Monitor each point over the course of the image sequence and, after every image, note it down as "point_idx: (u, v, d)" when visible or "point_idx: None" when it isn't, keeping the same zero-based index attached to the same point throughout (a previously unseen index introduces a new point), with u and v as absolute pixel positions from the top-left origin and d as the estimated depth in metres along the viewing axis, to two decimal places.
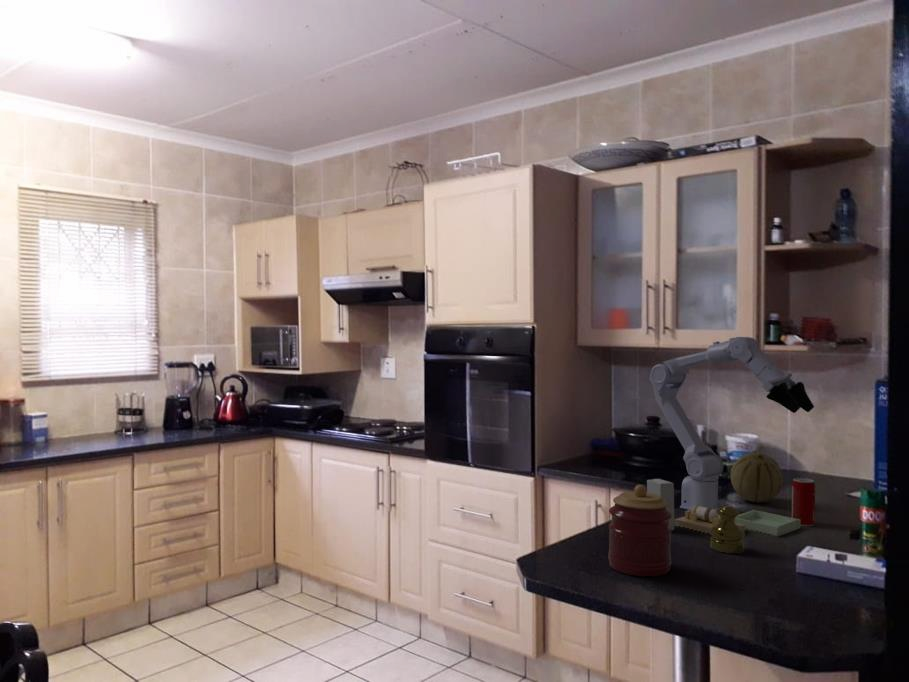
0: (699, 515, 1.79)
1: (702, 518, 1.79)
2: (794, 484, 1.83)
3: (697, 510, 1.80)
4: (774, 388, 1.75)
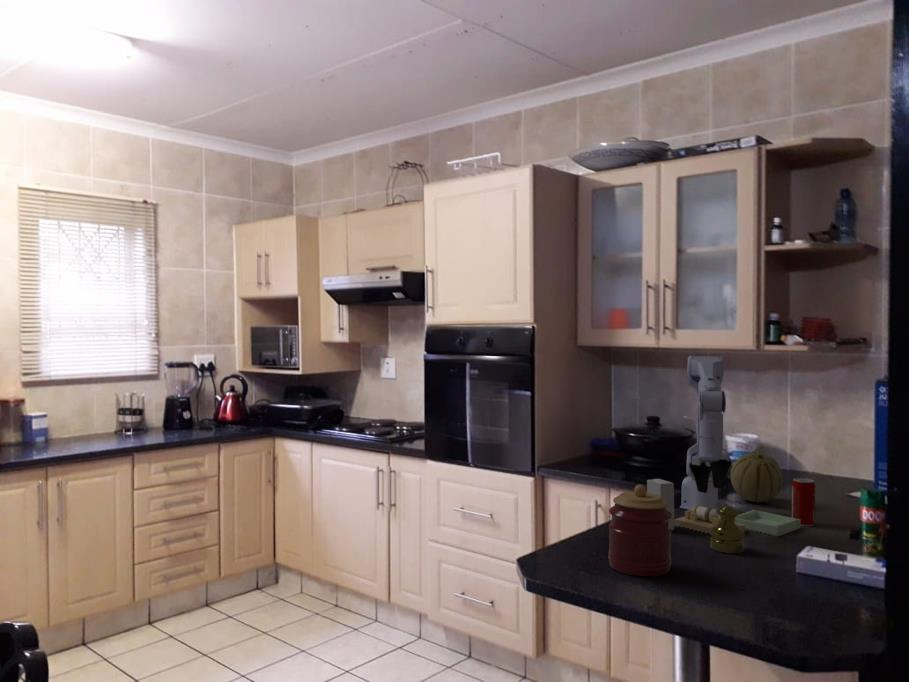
0: (699, 515, 1.79)
1: (702, 518, 1.79)
2: (794, 484, 1.83)
3: (697, 510, 1.80)
4: (699, 466, 1.74)
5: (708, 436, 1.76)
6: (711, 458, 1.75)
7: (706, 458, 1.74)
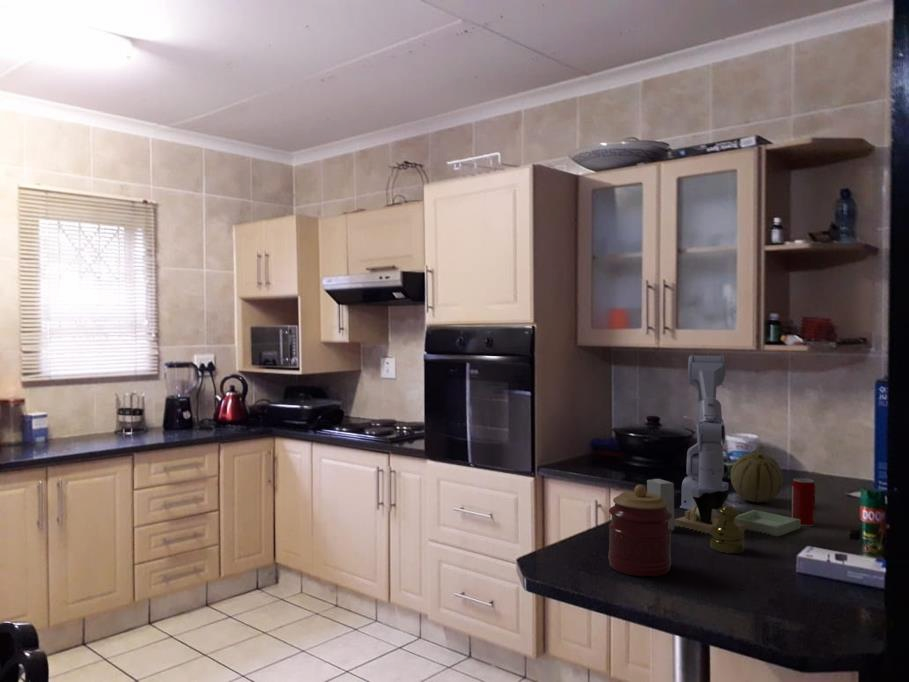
0: (699, 516, 1.79)
1: None
2: (794, 484, 1.83)
3: (697, 510, 1.80)
4: (703, 497, 1.75)
5: (707, 468, 1.76)
6: (710, 490, 1.75)
7: (705, 490, 1.74)
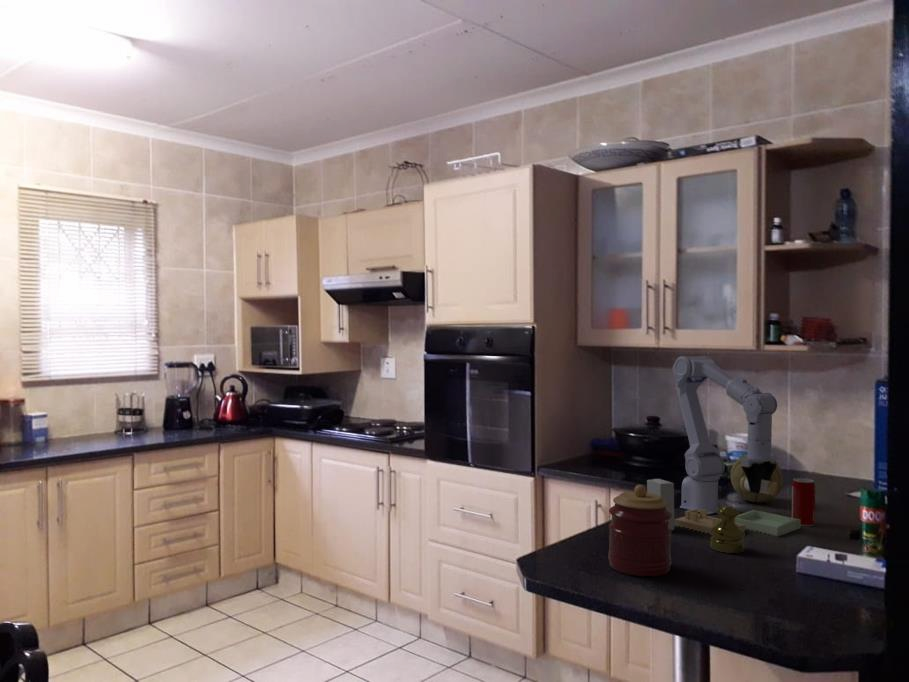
0: (748, 486, 1.81)
1: None
2: (794, 484, 1.83)
3: (746, 481, 1.81)
4: (752, 467, 1.77)
5: (765, 438, 1.77)
6: (760, 460, 1.77)
7: (755, 460, 1.76)
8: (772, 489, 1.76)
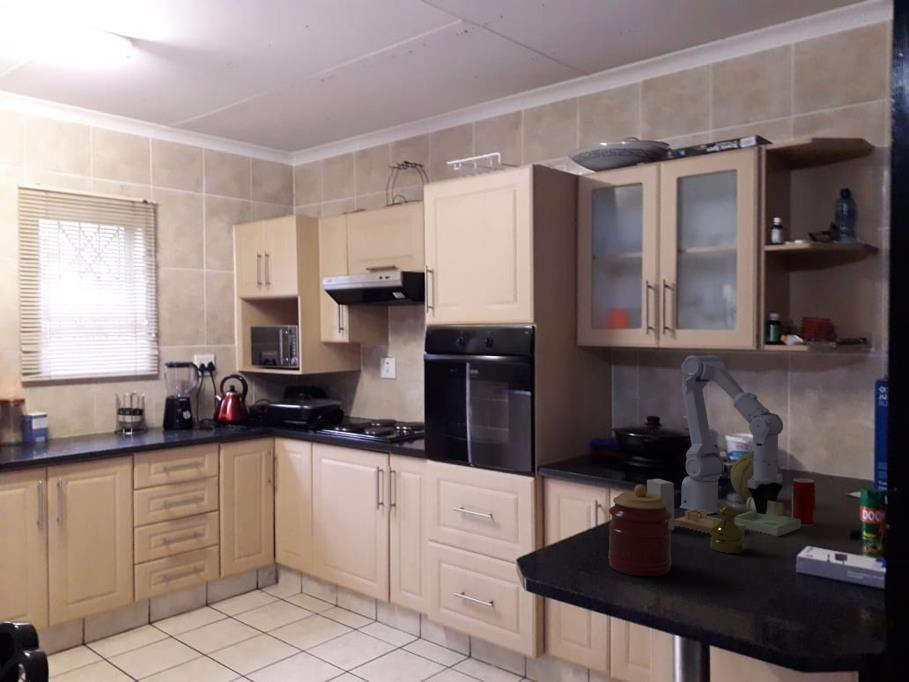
0: (754, 507, 1.81)
1: None
2: (794, 484, 1.83)
3: (752, 502, 1.82)
4: (759, 488, 1.77)
5: (773, 460, 1.78)
6: (767, 481, 1.77)
7: (762, 481, 1.76)
8: (779, 510, 1.77)
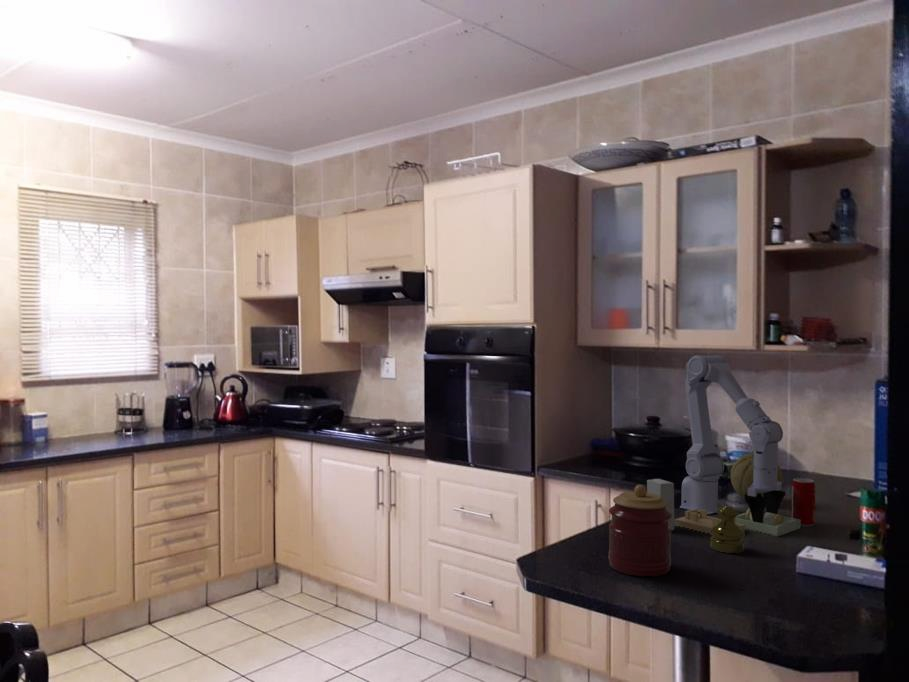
0: None
1: None
2: (794, 484, 1.83)
3: None
4: (755, 497, 1.76)
5: (772, 468, 1.78)
6: (766, 489, 1.77)
7: (762, 489, 1.76)
8: (778, 523, 1.77)
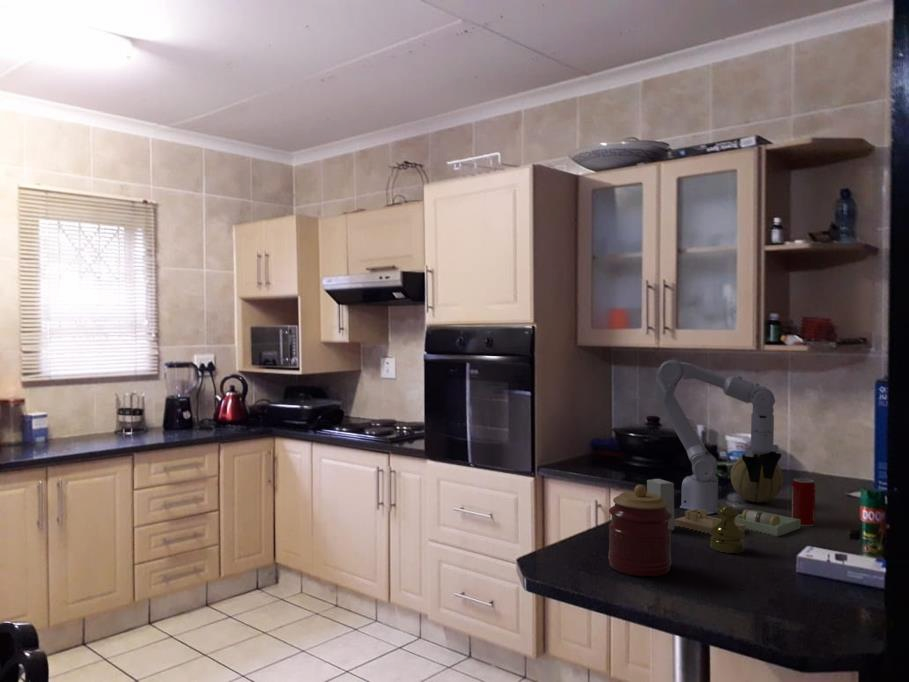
0: None
1: None
2: (794, 484, 1.83)
3: None
4: (752, 457, 1.87)
5: (773, 430, 1.89)
6: (763, 450, 1.88)
7: (758, 450, 1.87)
8: None
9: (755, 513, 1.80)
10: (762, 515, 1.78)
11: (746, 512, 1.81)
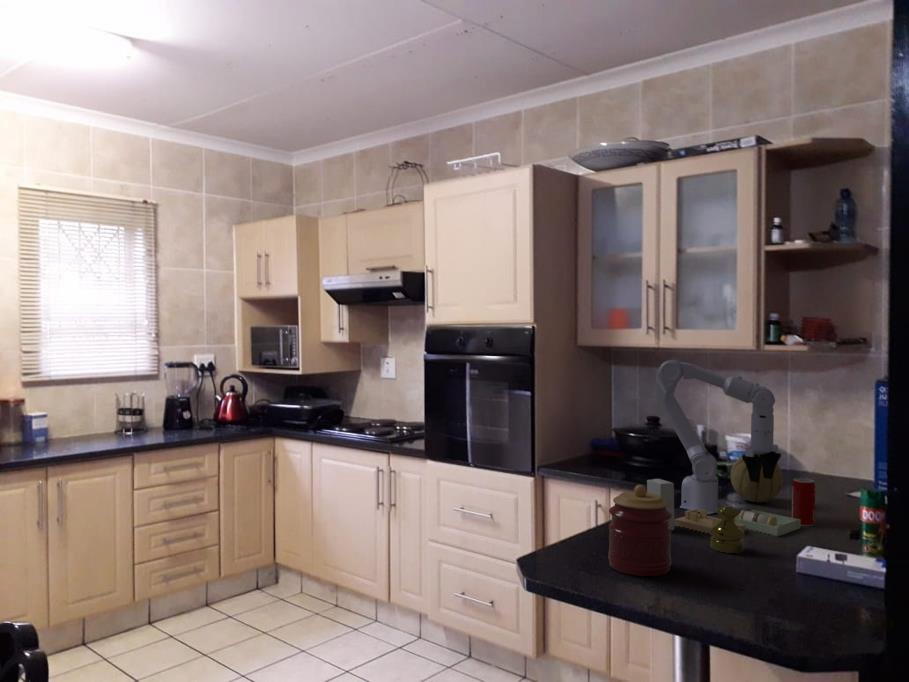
0: None
1: None
2: (794, 484, 1.83)
3: None
4: (752, 457, 1.87)
5: (773, 430, 1.90)
6: (763, 450, 1.88)
7: (759, 450, 1.87)
8: None
9: (751, 519, 1.78)
10: (758, 521, 1.77)
11: (742, 518, 1.80)
